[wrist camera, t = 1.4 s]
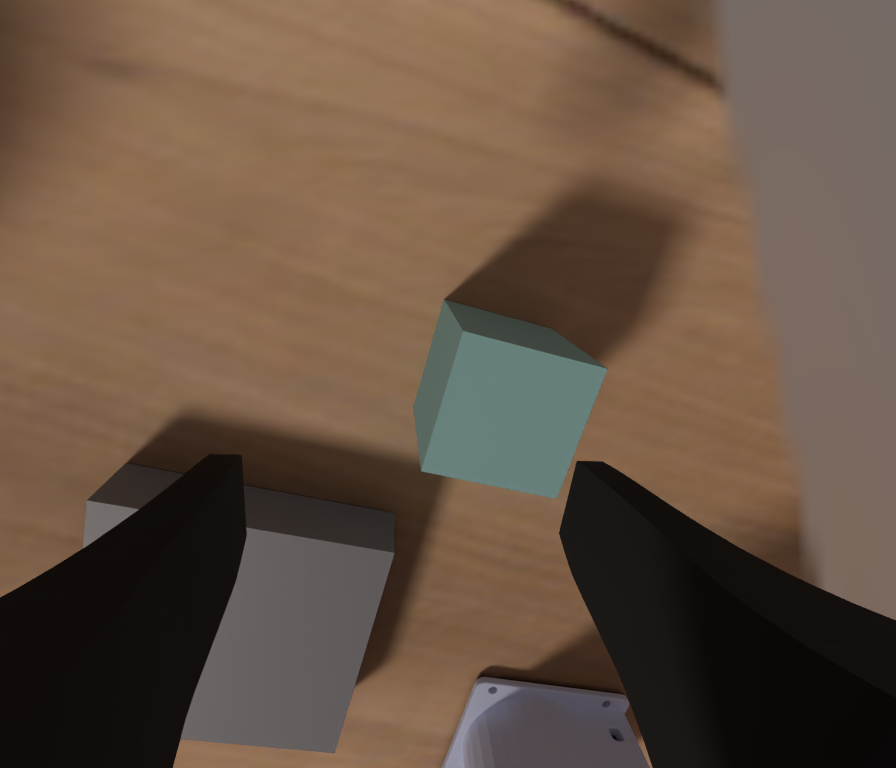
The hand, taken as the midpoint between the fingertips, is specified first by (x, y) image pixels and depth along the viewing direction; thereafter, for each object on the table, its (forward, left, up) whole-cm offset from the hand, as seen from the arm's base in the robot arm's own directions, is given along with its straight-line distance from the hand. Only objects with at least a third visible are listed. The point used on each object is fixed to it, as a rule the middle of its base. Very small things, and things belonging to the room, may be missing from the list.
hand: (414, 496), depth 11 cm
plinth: (+4, +14, -12) cm, 18 cm away
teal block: (-4, 0, -12) cm, 12 cm away
